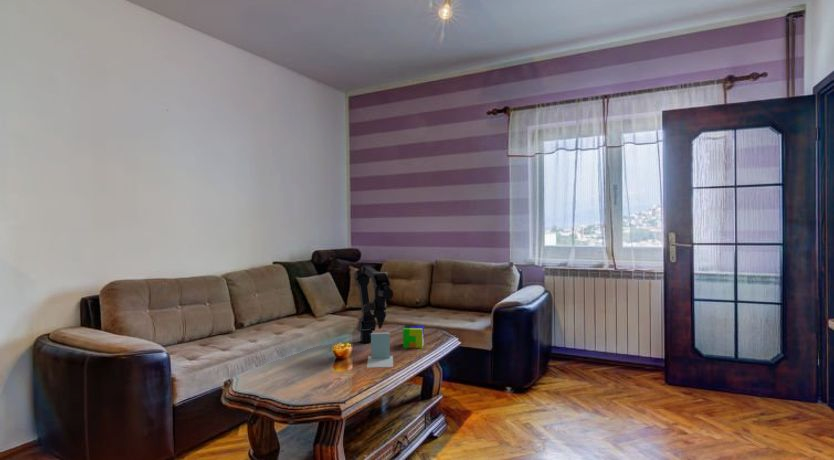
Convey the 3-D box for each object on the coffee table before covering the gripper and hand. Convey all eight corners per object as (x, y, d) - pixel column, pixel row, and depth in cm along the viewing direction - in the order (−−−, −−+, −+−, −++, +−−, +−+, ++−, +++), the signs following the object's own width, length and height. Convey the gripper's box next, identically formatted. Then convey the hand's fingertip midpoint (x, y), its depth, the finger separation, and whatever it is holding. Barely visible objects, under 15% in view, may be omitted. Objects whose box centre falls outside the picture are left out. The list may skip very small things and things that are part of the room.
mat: (368, 357, 224) (368, 356, 224) (392, 356, 225) (392, 355, 225) (366, 368, 207) (366, 367, 207) (393, 367, 208) (393, 366, 208)
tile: (371, 357, 222) (371, 332, 222) (389, 357, 223) (389, 332, 222) (371, 358, 220) (371, 334, 220) (389, 358, 220) (389, 333, 220)
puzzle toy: (423, 343, 249) (423, 325, 249) (422, 348, 239) (422, 329, 239) (405, 343, 250) (405, 325, 250) (403, 348, 240) (403, 329, 240)
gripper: (365, 294, 244) (365, 323, 245) (363, 300, 226) (363, 331, 226) (385, 294, 245) (386, 323, 245) (385, 300, 227) (385, 331, 227)
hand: (380, 327), depth 236 cm, fingers open, 6 cm apart
